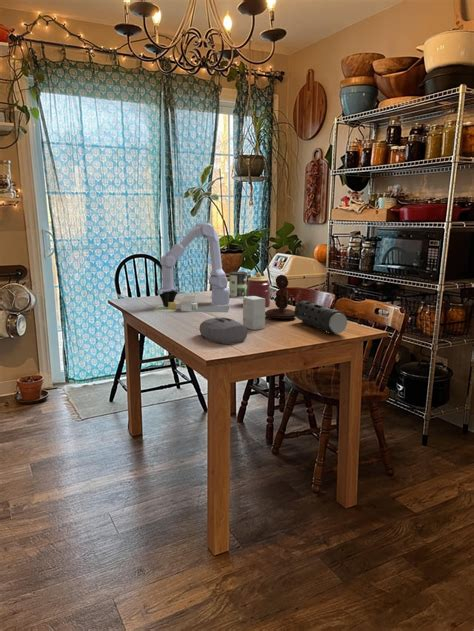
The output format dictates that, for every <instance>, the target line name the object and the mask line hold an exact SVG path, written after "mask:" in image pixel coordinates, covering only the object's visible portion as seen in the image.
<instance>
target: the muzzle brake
mask: <svg viewBox="0 0 474 631" xmlns="http://www.w3.org/2000/svg"><path fill="white" fill-rule="evenodd" d="M294 311H295V316H296V317H295V318H296V319H298V321H301V322H302V323H303V322H304V323H303V324H305V323H306V324H305V325H308V324H309V325H308V326H310V325H311V327H313V326H314V328H315V327H318V328H317V329H321V330H323V332H324V331H327V332H329V333H328V334H332V335H333V334H341V333H343V332H344V331H345V330H346V328H347V326H348V319H347V316H346V315H345V314H344V313H343V312H342V311H340V310H337V309H332V308H329V307H326V306H322V305H320V304H317V303H313V302H311V301H308V300H301V301H299V302H297V304H296V305H295V307H294Z"/></svg>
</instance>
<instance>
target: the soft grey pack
mask: <svg viewBox="0 0 474 631" xmlns="http://www.w3.org/2000/svg"><path fill="white" fill-rule="evenodd" d="M247 329H248V328H246V327H245V326H244V325H243V323H241V322H239V321H236V320H235V319H232V318H228V317H212V318H209V319H208V318H207V319H205V320H203V321H202V322H201V323H200V326H199V332H200V336H202V337H204V338H205V339H206V340H208V341H210V340H211V342H213V341H214V343H218V344H223V345H224V344H225V345H231V344H232V343H233V344H238V342H239V343H242V342H243V341H245V340H246V339H247V335H248V330H247Z"/></svg>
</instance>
